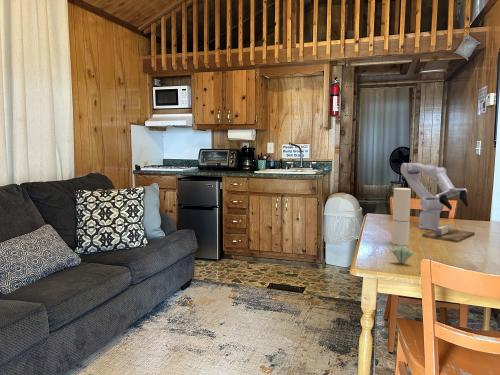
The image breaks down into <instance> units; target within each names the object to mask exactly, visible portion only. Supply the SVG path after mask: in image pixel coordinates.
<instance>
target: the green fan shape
mask: <svg viewBox="0 0 500 375" xmlns="http://www.w3.org/2000/svg"><path fill="white" fill-rule="evenodd" d="M390 252H391V253H392V254H393V256H394V257H396V260H397V261H398V263H399V264H401V265H402V264H405V263H407V261H408V260H409V259H410V258H411V257H412V256H413V255H414V252H413V251H411V250H410V249H408V248H407V247H406V245H399V247H396V248H392V249H391V250H390Z"/></svg>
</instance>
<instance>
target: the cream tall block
mask: <svg viewBox="0 0 500 375" xmlns="http://www.w3.org/2000/svg"><path fill="white" fill-rule="evenodd" d="M411 195H412V188H409V187H394V188H393V196H392V197H393V200H392V202H393V203H392V227H391V228H392V229H391V230H392V231H391V243H392V245H395V244H397V245H396V246H408V245H409V244H410V223H411V222H410V221H411V219H410V218H411Z"/></svg>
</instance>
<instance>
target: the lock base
mask: <svg viewBox="0 0 500 375" xmlns="http://www.w3.org/2000/svg"><path fill="white" fill-rule="evenodd" d="M421 235H422V236H421V237H423V238H428V239H434V240H438V241H439V240H441V241H445V242H452V243H460V242H462V241H464V240H467V239H470V238H471V237H473V236H475V235H476V233H475V231H468V230H467V231H465V230H459V229H454V228H453V232H451V233H445V234H442V235H441V236H437V235H435V230H430V231H427V232H425V233H422V234H421Z"/></svg>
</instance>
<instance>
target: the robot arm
mask: <svg viewBox="0 0 500 375" xmlns="http://www.w3.org/2000/svg"><path fill="white" fill-rule="evenodd" d="M421 172H422V173H423V174H424V175H426V176H428V177H429V178H431V179H432V180H434V182H436V183H437V185H438V187H439V188H440V190H441V192H439V193H438V194H435V195H433V194H431V193H430V192H429V190H428V189H427V188H426V187H425V185H423V184H422V182H421V181H420V180H419V179H420V177H421ZM400 174H401V175H402V176H403V178H404V179H405V180H406V182H407V184H408V185H409V186H410V187H411V190H413V191H414V192H415V193H416V195H417V196H418V197H419V199H420V200H419V205H420V206H421V209H422V210H421V211H420V213H419V217H418V219H419V220H418V226H417V227H418V229H419V228H420V229H426V230H430V231H433V230H435V228H438V227H440V217H441V216H440V215H441V213H442V211H443V210H444V207H446V208H447V209H448V210H449V211H452V209H453V206H452V204H451V203H450V201H449V198H453V197H455V196H457V195H459V198H458V199H459V200H460V201H461V202H462V203H463V205H464V206H465V207H466V208H468V207H469V202H468V198H467V193H468V190H467V188H466V187H465V188H456V187H455V186H454V185H453V183H452V181H451V180H450V178H449V177H448V171H447V168H445V167H444V166H441V167H438V165H433V164H432V163H428V164H422V163H421V162H403V163H402V164H401V165H400Z"/></svg>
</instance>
